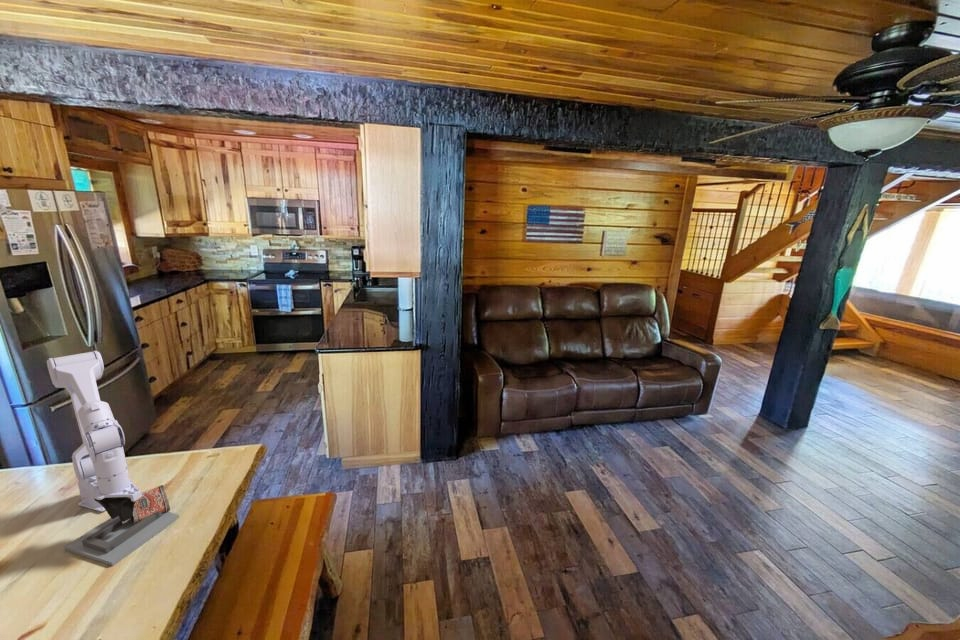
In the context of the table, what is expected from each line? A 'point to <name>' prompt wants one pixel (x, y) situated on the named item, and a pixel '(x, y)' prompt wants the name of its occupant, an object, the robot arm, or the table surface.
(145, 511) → the lighter
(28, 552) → the table surface
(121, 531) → the socket dock
